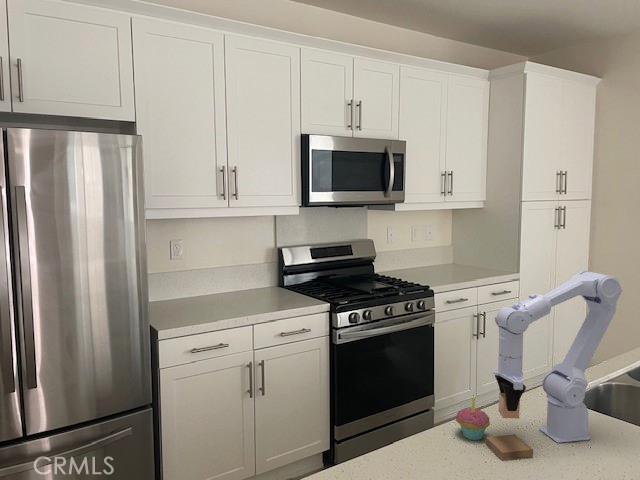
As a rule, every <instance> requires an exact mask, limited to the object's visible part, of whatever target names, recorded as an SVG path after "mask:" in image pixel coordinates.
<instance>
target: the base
mask: <svg viewBox="0 0 640 480" xmlns="http://www.w3.org/2000/svg"><path fill="white" fill-rule="evenodd" d="M485 446H487V447H488V448H489V449H490V450H491V452H493V453H494V454H495V455H496V456H497V457H498V458H499V459H500V460H501V461H512V460H521V459H522V460H523V459H530V458H534V449H533V448H532V447H531V446H530V445H529V444H527V443H526V442H525V441H524V440H522V439H521V438H520V437H519V436H518V435H516V434H505V435H495V436H493V435H492V436H485Z"/></svg>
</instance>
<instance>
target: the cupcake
mask: <svg viewBox="0 0 640 480" xmlns="http://www.w3.org/2000/svg"><path fill="white" fill-rule="evenodd" d="M475 401H476V397H475V394H473V395H472V397H471V406H469V407H464V408H463V409H461V410H459V411H457V413H456V414H455V421H456V422H457V423H458V424H459V425H460V428H461V430H462V434H463V437H465V438H466V439H468V440H473V441H474V440H475V441H477V440H478V441H479V440H481V439H482V438H483V436H484V433H485V431H486V429H487V428H488V427H489V426H490V422H491V421H490V417H489V415H488V414H487V413H486V412H485V411H483V410H481V409H479V408H476V407H475V404H476V402H475Z"/></svg>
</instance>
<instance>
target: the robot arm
mask: <svg viewBox="0 0 640 480" xmlns="http://www.w3.org/2000/svg"><path fill="white" fill-rule="evenodd" d="M622 293H623V288H622V286H621V284H620V280H619V279H618V278H617V277H616V276H614V275H611V274H610V275H609V274H608V275H607V274H603V273H598V272H594V271H590V270H582V271H581V272H579V273H577V274H574V275H573V276H572V277H571V278H570V279H569V280H568V281H566V282H564V283H563V284H562V283H561V284H560V285H559V286H557V287H556V288H554V289H552V290H550V291H549V292H547V293H546V294H544V295H543V294H540V293H531V294H529V295H528V298H525V299H524V300H522V301H520V302H515V303H513V305H512V307H511V306H504V307H502V308H501V309H499V311H497V313H496V314H497V315H496V316H495V317H494V323H495V325H497V328H498V365H497V366H498V367H497V369H495V370H493V375H494V377H495V380H496V381H497V385H498V388H499V393H505V398H506V406H507V410H508V411H516V410H517V408H518V404H519V401H521V398H522V395H523V394H524V393H525V391H526V389H527V386H526V385H525V384H524V381H523V377H524V372H523V352H524V351H523V350H524V333H525V332H526V331H527V330H528V328H529V326H530V325H531V324H532V323H534V322H535V321H538V320H540V319H541V318H544V317H546V316H548V315H549V314H551V311H552V307H555V306H557V305H559V304H562V303H564V302H566V301H568V300H569V301H570V300H572V299H573V298H575V297H578V296H581V298H582V299H583V300H584V301H585V303H586V304H587V306H588V309H589V310H588V312H587V314H586V317H585V318H584V320H583V323H582V324H581V326H580V328H579V330H578V332H577V334H576V336H575V337H574V339H573V341H572V343H571V346H570V347H569V349H568V351H567V353H566V355H565V356H564V358H563V361H562V362H560V363H558V364H555V365H554V366H552V368H551V369H550V371H549V372H548V373H547V374H545V375H544V377H543V379H542V381H541V386H542V389H543V391H544V392H545V393H546V398H547V402H546V403H547V404H546V405H547V406H546V407H547V408H546V409H547V410H546V426H542V427H539V430H540V431H541V432H542V433H544V434H545V435H546V436H547V437H549V438H550V439H552V440H553V441H554V442H555V443H559V444H560V443H569V442H577V441H578V442H579V441H587V440H590V439H591V437H590V436H588V435H589V411H588V407H587V406H586V405H585V403H584V400H585V396H586V389H587V387H588V385H589V382H588V380H587V378H586V376H585V372H586V370H587V368H588V366H589V364H590V363H591V360H592V359H593V357H594V355H595V352H596V351H597V349H598V347H599V345H600V343H601V341H602V339H603V338H604V335H605V334H606V332H607V329H608V328H609V326H610V325H611V322H612V320H613V319H614V316H615V314H616V310H617V303H618V300H619V298H620V296H621V295H622Z"/></svg>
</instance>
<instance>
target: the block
mask: <svg viewBox="0 0 640 480" xmlns="http://www.w3.org/2000/svg"><path fill="white" fill-rule="evenodd" d="M520 401H521V400H520ZM520 401H519V404H518V408H517V410H516V411H508V410H507V406H506V398H505V393H500V392H499V393H498V412H499V414H500V416H501V417H502V419H520V406H521V402H520Z"/></svg>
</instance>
